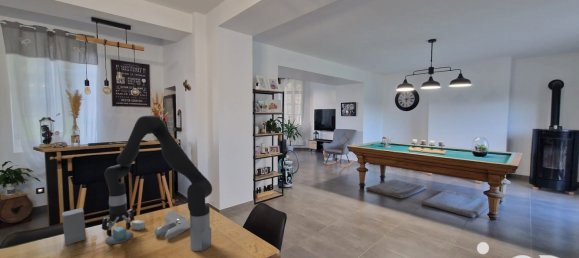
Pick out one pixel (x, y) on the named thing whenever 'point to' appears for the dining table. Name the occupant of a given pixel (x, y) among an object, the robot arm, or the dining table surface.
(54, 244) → the dining table surface
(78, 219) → the skincare box
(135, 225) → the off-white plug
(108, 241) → the slate coaster
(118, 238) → the teal plug
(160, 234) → the chrome faucet
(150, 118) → the robot arm
